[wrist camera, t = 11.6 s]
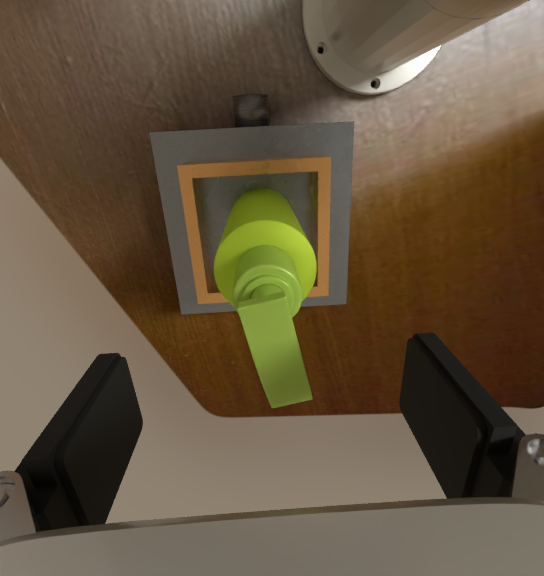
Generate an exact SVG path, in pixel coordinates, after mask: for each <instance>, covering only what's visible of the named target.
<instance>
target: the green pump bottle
mask: <svg viewBox="0 0 544 576" xmlns="http://www.w3.org/2000/svg"><path fill="white" fill-rule="evenodd" d="M316 272H317V263H316V257H315V254H314V251H313V248H312V246H311V245H310V243H309V241H308V239H307V237H306V235H305V233H304V231H303V229H302V227H301V226H300V224H299V222H298V220H297V218H296V216H295V214H294V212H293V210H292V208H291V207H290V205H289V203H288V201H287V200H286V199H285V198H284V197H283V196H282V195H281V194H279V193H278V192H276V191H274V190H271V189H267V188H255V189H251V190H249V191H247V192H245V193H243V194H242V195H241V196H240V197H239V198H238V199H237V200H236V201H235V203H234V204H233V206H232V208H231V211H230V214H229V217H228V220H227V223H226V226H225V229H224V232H223V235H222V238H221V241H220V244H219V247H218V250H217V253H216V256H215V261H214V276H215V281H216V284H217V286H218V289H219V291H220V292H221V294H222V295H223V297H224V298H225V299H226V300H227V301H228V302H229V303H230V304H231V305H232V306H234V307H235V309H236V311H237V313H238V314H239V316H240V319H241V322H242V325H243V328H244V332H245V335H246V338H247V341H248V344H249V347H250V351H251V354H252V357H253V360H254V363H255V366H256V369H257V372H258V375H259V377H260V380H261V383H262V385H263V388H264V391H265V393H266V395H267V398H268V400H269V403H270V405H271V407H272V408H276V407H281V406H285V405H290V404H294V403H298V402H302V401H307V400H310V399H312V393H311V389H310V385H309V381H308V378H307V374H306V370H305V366H304V362H303V358H302V355H301V351H300V347H299V343H298V339H297V335H296V332H295V328H294V324H293V320H292V318H293V317H294V316H295V315H296V313H297V312H298V310H299V308H300V306H301V303H302V301H303V300H304V299H305V298H306V297H307V295H308V294H309V292H310V291H311V289H312V287H313V284H314V282H315V278H316Z"/></svg>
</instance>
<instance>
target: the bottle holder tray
mask: <svg viewBox="0 0 544 576" xmlns="http://www.w3.org/2000/svg"><path fill="white" fill-rule="evenodd" d="M233 104H234V116H235V128H222V129H203V130H184V131H166V132H149V134H150V140H151V145H152V151H153V157H154V162H155V168H156V174H157V179H158V185H159V190H160V196H161V202H162V207H163V213H164V219H165V224H166V230H167V235H168V241H169V247H170V252H171V258H172V264H173V269H174V275H175V281H176V286H177V292H178V297H179V303H180V309H181V314H182V315H183V314H198V313H213V312H229V311H236V309H235V307H234V306H232V305H231V304H230V303H229V302H228V301H227V300H226V299H225V298H224V297H223V295H222V294H221V292H220V291H219V289H218V286H217V284H216V281H215V276H214V261H215V256H216V253H217V250H218V247H219V244H220V241H221V238H222V235H223V232H224V229H225V226H226V223H227V220H228V217H229V214H230V211H231V208H232V206H233V204H234V203H235V201H236V200H237V199H238V198H239V197H240V196H241V195H242V194H243V193H245V192H247V191H249V190H251V189H255V188H267V189H271V190H274V191H276V192H278V193H279V194H281V195H282V196H283V197H284V198H285V199H286V200H287V201H288V203H289V205H290V207H291V208H292V210H293V212H294V214H295V216H296V218H297V220H298V222H299V224H300V226H301V227H302V229H303V231H304V233H305V235H306V237H307V239H308V241H309V243H310V245H311V246H312V248H313V251H314V254H315V257H316V263H317V272H316V278H315V282H314V284H313V287H312V289H311V291H310V292H309V294H308V295H307V297H306V298H305V299H304V300H303V301H302V303H301V306H300V307H306V306H321V305H337V304H346V297H347V274H348V251H349V228H350V205H351V182H352V159H353V136H354V122H335V123H317V124H298V125H279V126H269V106H268V95H263V94H250V95H239V96H234V97H233Z"/></svg>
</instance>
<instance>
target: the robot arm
mask: <svg viewBox="0 0 544 576" xmlns="http://www.w3.org/2000/svg"><path fill="white" fill-rule="evenodd" d="M527 1H529V0H302V23H303V29H304V35H305V39H306V42H307V45H308V48H309V51H310V54H311V56H312V57H313V59H314V61H315V63H316V65H317V66H318V68H319V69H320V70H321V71H322V72H323V74H324V75H325V76H326V77H327V78H328V79H329V80H330V81H332V82H333V83H334V84H335V85H337V86H338V87H340V88H342V89H344V90H346V91H349V92H352V93H356V94H361V95H377V94H381V93H386V92H389V91H392V90H395V89H398V88H399V87H401V86H403V85H405V84H407V83H408V82H410V81H412V80H413V79H414V78H415V77H417V76H418V75H419V74H420V73H421V72H423V71H424V69H425V68H426V67H427V66H428V65H429V64H430V63H431V61H432V60H433V59H434V58H435V56H436V55H437V53H438V52H439V50H440V49H441V47H442V45H443V44H445V43H447V42H449V41H451V40H453V39H455V38H457V37H459V36H461V35H462V34H464V33H466V32H468V31H470V30H472V29H474V28H476V27H478V26H480V25H482V24H484V23H486V22H488V21H490V20H492V19H494V18H496V17H498V16H500V15H502V14H504V13H506V12H508V11H510V10H512V9H514V8H516V7H518V6H520V5H522V4H523V3H525V2H527ZM318 48H322V49H323V53H322V54H319V53H318ZM371 82H374V83H375V87H374V88H372V87H371ZM400 409H401V412H402V414H403V416H404V417H405V419H406V421H407V423H408V425H409V427H410V429H411V431H412V433H413V435H414V436H415V438H416V440H417V442H418V444H419V446H420V448H421V450H422V452H423V454H424V455H425V457H426V459H427V461H428V463H429V465H430V467H431V469H432V471H433V472H434V474H435V476H436V478H437V480H438V482H439V484H440V486H441V487H442V489H443V491H444V493H445V495H446V497H447V499H430V500H412V501H398V502H384V503H368V504H353V505H339V506H324V507H311V508H298V509H283V510H270V511H257V512H243V513H230V514H217V515H205V516H191V517H179V518H166V519H154V520H141V521H129V522H119V523H109V524H105V522H106V520H107V517H108V514H109V512H110V510H111V507H112V505H113V502H114V499H115V497H116V494H117V492H118V489H119V486H120V484H121V481H122V479H123V476H124V474H125V471H126V469H127V466H128V464H129V461H130V458H131V456H132V453H133V451H134V448H135V446H136V443H137V441H138V438H139V435H140V433H141V430H142V425H143V420H142V415H141V412H140V408H139V404H138V401H137V397H136V393H135V390H134V386H133V382H132V379H131V375H130V371H129V368H128V364H127V361H126V358H125V357H121V356H120V354H119V353H109V354H99V355H98V356H97V357H96V359H95V360H94V361H93V363H92V364H91V365H90V367H89V368H88V370H87V371H86V372H85V374H84V375H83V377H82V378H81V379H80V381H79V382H78V383H77V385H76V386H75V388H74V389H73V390H72V392H71V393H70V394H69V396H68V397H67V399H66V400H65V401H64V403H63V404H62V406H61V407H60V408H59V410H58V411H57V412H56V414H55V415H54V417H53V418H52V419H51V421H50V422H49V423H48V425H47V426H46V428H45V429H44V430H43V432H42V433H41V435H40V436H39V437H38V439H37V440H36V441H35V443H34V444H33V446H32V447H31V449H30V450H29V451H28V453H27V454H26V455H25V457H24V458H23V459H22V462H21V463H20V465H19V466H18V467H17V469H16V470H15V471H2V472H0V576H544V434H537V433H535V434H528V435H525V433H524V432H523V431H522V430H521V429H520V428H519V427H518V426H517V424H516V423H515V422H514V421H513V420H512V419H511V418H510V417H509V416H508V415H507V413H506V412H505V411H504V410H503V409H502V408H501V407H500V406H499V405H498V403H497V402H496V401H495V400H494V399H493V398H492V397H491V396H490V395H489V393H488V392H487V391H486V390H485V389H484V388H483V387H482V386H481V385H480V383H479V382H478V381H477V380H476V379H475V378H474V377H473V376H472V375H471V374H470V372H469V371H468V370H467V369H466V368H465V367H464V366H463V365H462V364H461V362H460V361H459V360H458V359H457V358H456V357H455V356H454V355H453V354H452V352H451V351H450V350H449V349H448V348H447V347H446V346H445V345H444V344H443V343H442V341H441V340H440V339H439V338H438V337H437V336H436V335H435V334H434V333H418V334H414V335H413V338H410V339H409V340H408V342H407V350H406V357H405V364H404V372H403V379H402V387H401V394H400Z"/></svg>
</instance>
